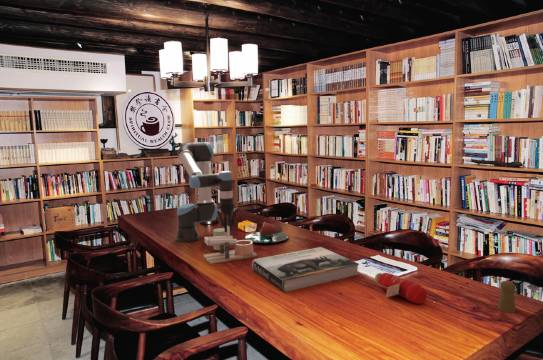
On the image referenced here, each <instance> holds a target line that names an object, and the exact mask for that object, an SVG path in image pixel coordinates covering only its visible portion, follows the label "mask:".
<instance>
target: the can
mask: <svg viewBox="0 0 543 360" xmlns="http://www.w3.org/2000/svg"><path fill="white" fill-rule="evenodd" d="M217 236H226V232H225V230H224V227H222V228H221V227H219V228H214V229H212V237H217ZM213 250H215V251H220V245H214V246H213ZM224 251H225V245H224Z"/></svg>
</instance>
